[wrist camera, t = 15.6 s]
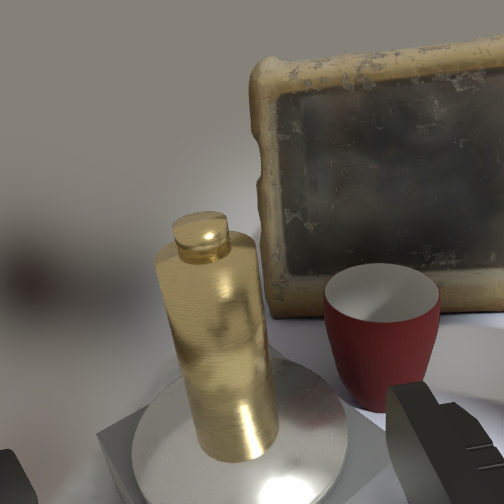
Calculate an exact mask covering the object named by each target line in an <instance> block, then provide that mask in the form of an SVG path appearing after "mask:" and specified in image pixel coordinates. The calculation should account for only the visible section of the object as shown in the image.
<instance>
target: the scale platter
mask: <svg viewBox="0 0 504 504" xmlns="http://www.w3.org/2000/svg"><path fill="white" fill-rule="evenodd" d="M270 358H271V365H272V373H273V380H274V388H275V396H276V403H277V411H278V418H279V432H278V435H277V438H276V440H275V441H274V443H273V444H272V446H271V447H270V448H269V449H268V450H267V451H265V452H264V453H263V454H261V455H260V456H258V457H256V458H254V459H251V460H248V461H244V462H239V463H227V462H221V461H218V460H215V459H213V458H211V457H210V456H208V455H207V454H206V453H205V452H204V451H203V450H202V448H201V447H200V445H199V442H198V438H197V434H196V430H195V426H194V422H193V418H192V414H191V410H190V406H189V402H188V397H187V393H186V389H185V385H184V381H183V377H182V376H181V377H180V378H178V379H177V380H175V381H174V382H172V383H171V384H170V385H168V386H167V387H166V388H165V389H164V390H163V391H162V392H161V393H160V394H159V395H158V396H157V397H156V398H155V399H154V400H153V401H152V402H151V404H150V405H149V407H148V408H147V409H146V411H145V412H144V414H143V416H142V418H141V420H140V421H139V424H138V426H137V429H136V431H135V435H134V439H133V443H132V466H133V470H134V474H135V478H136V481H137V483H138V486H139V489H140V492H141V494H142V496H143V498H144V500H145V502H146V503H147V504H323V503H324V502H325V500H326V499H327V498H328V497H329V495H330V494H331V493H332V492H333V490H334V488H335V487H336V485H337V483H338V481H339V480H340V478H341V475H342V472H343V470H344V467H345V463H346V459H347V454H348V428H347V419H346V415H345V412H344V408H343V406H342V404H341V402H340V400H339V398H338V396H337V395H336V393H335V392H334V390H333V389H332V388H331V387H330V386H329V385H328V383H327V382H326V381H325V380H323V379H322V378H321V377H320V376H319V375H317V374H316V373H314V372H313V371H311V370H309V369H308V368H306V367H304V366H302V365H299V364H297V363H294V362H291V361H289V360H285V359H280V358H276V357H270Z"/></svg>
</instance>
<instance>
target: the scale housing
mask: <svg viewBox="0 0 504 504" xmlns="http://www.w3.org/2000/svg"><path fill="white" fill-rule="evenodd" d="M269 350H270V357H276V358H280V359H285V360H289V359H287V358H286V357H285V356H283V355H282V354H281V353H279V352H278V351H276V350H275V349H274V348H272V347H271V346H270V345H269ZM289 361H290V360H289ZM338 398H339V397H338ZM339 400H340V402H341V404H342V406H343V408H344V412H345V415H346V419H347V428H348V454H347V459H346V463H345V467H344V470H343V472H342V475H341V478H340V480H339V481H338V483H337V485H336V487H335V488H334V490H333V492H332V493H331V494H330V495H329V497H328V498H327V499H326V500H325V502H324V503H323V504H406V496H405V493H404V491H403V489H402V486H401V484H400V482H399V479H398V477H397V475H396V472H395V470H394V468H393V465H392V462H391V459H390V456H389V452H388V448H387V443H386V432H385V431H384V430H382V429H381V428H380V427H378V426H377V425H376V424H374V423H373V422H372V421H370V420H369V419H368V418H366V417H365V416H364V415H362V414H361V413H360V412H358V411H357V410H356V409H354V408H353V407H352V406H350V405H349V404H348V403H346V402H345V401H344V400H342V399H341V398H339ZM149 405H150V404H149ZM149 405H147V406H146V407H144V408H142V409H140V410H138V411H137V412H135V413H133V414H131V415H129V416H128V417H126V418H124V419H122V420H120V421H119V422H117V423H115V424H113V425H111V426H110V427H108V428H106V429H104V430H102V431H101V432H99V433H97V434H96V435H97V437H98V440H99V443H100V445H101V448H102V451H103V453H104V456H105V458H106V461H107V464H108V466H109V469H110V472H111V474H112V477H113V480H114V482H115V485H116V487H117V488H118V490H119V492H120V494H121V496H122V498H123V500H124V502H125V504H147V503H146V502H145V500H144V498H143V496H142V494H141V492H140V489H139V486H138V483H137V481H136V478H135V474H134V470H133V466H132V443H133V439H134V435H135V431H136V429H137V426H138V424H139V421H140V420H141V418H142V416H143V414H144V412H145V411H146V409H147V408H148V407H149Z"/></svg>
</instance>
